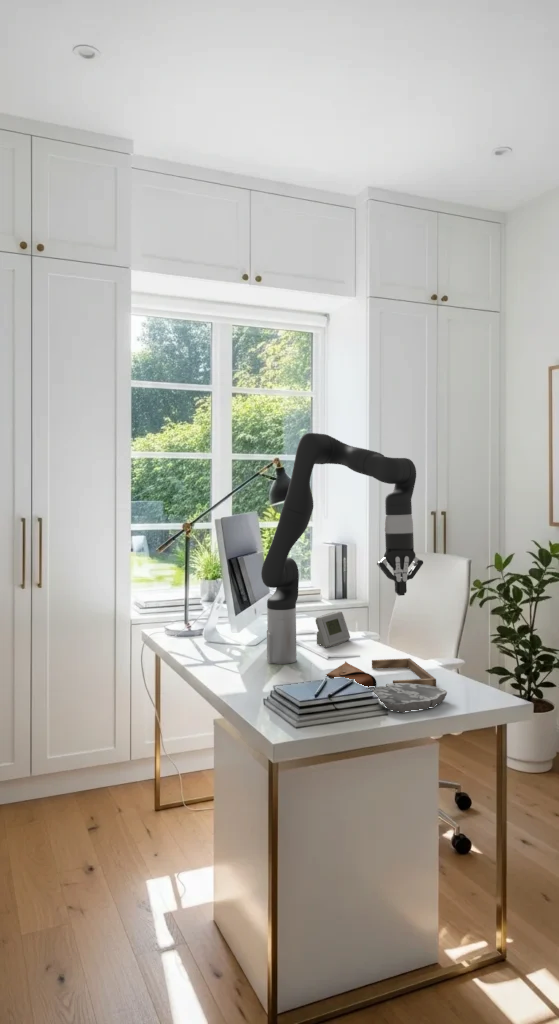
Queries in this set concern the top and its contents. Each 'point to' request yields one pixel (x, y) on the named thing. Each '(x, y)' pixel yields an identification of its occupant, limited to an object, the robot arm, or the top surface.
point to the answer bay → (401, 663)
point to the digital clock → (332, 629)
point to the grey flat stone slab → (409, 696)
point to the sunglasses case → (353, 674)
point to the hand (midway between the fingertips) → (400, 595)
